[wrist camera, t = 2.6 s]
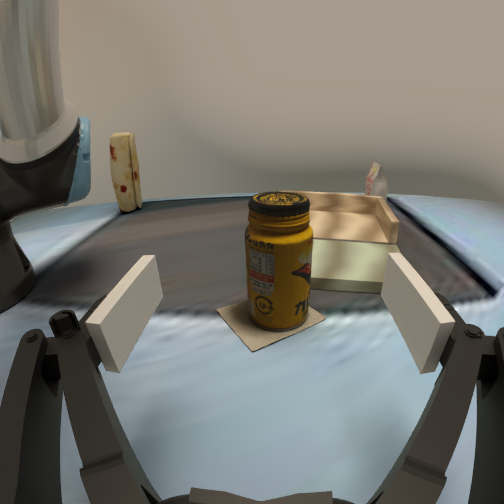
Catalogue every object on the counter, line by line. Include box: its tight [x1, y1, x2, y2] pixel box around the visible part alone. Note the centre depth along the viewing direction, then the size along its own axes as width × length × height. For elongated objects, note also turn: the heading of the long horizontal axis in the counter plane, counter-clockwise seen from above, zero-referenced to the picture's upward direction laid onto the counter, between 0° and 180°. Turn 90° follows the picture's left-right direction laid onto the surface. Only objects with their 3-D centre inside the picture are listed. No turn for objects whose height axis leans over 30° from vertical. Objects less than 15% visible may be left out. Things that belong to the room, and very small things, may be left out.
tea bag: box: [365, 162, 388, 202], centre depth 65 cm, size 4×7×10 cm, turn 172°
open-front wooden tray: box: [246, 191, 400, 293], centre depth 45 cm, size 20×28×5 cm
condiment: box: [217, 191, 326, 352], centre depth 27 cm, size 7×8×12 cm
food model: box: [110, 132, 142, 213], centre depth 66 cm, size 10×7×20 cm
